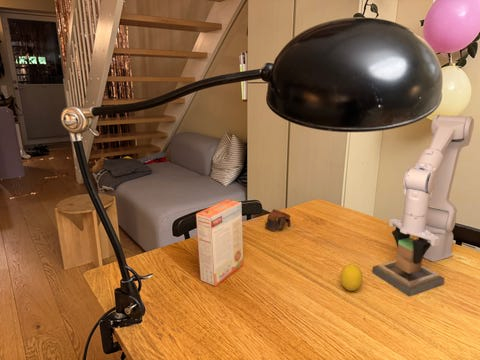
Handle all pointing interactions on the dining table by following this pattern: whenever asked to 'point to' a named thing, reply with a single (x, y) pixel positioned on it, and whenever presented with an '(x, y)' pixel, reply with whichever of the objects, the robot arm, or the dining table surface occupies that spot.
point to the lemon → (351, 277)
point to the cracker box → (220, 241)
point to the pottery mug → (279, 224)
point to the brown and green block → (406, 256)
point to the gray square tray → (408, 278)
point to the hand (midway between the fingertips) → (409, 258)
